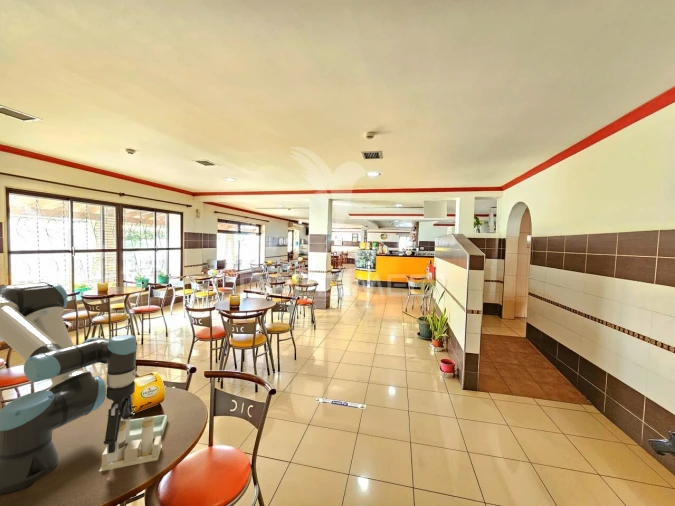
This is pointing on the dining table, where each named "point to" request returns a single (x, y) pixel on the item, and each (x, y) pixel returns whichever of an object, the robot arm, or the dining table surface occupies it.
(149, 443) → the fuse
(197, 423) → the dining table surface
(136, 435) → the parts tray
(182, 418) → the dining table surface
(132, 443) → the fuse holder
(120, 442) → the fuse
